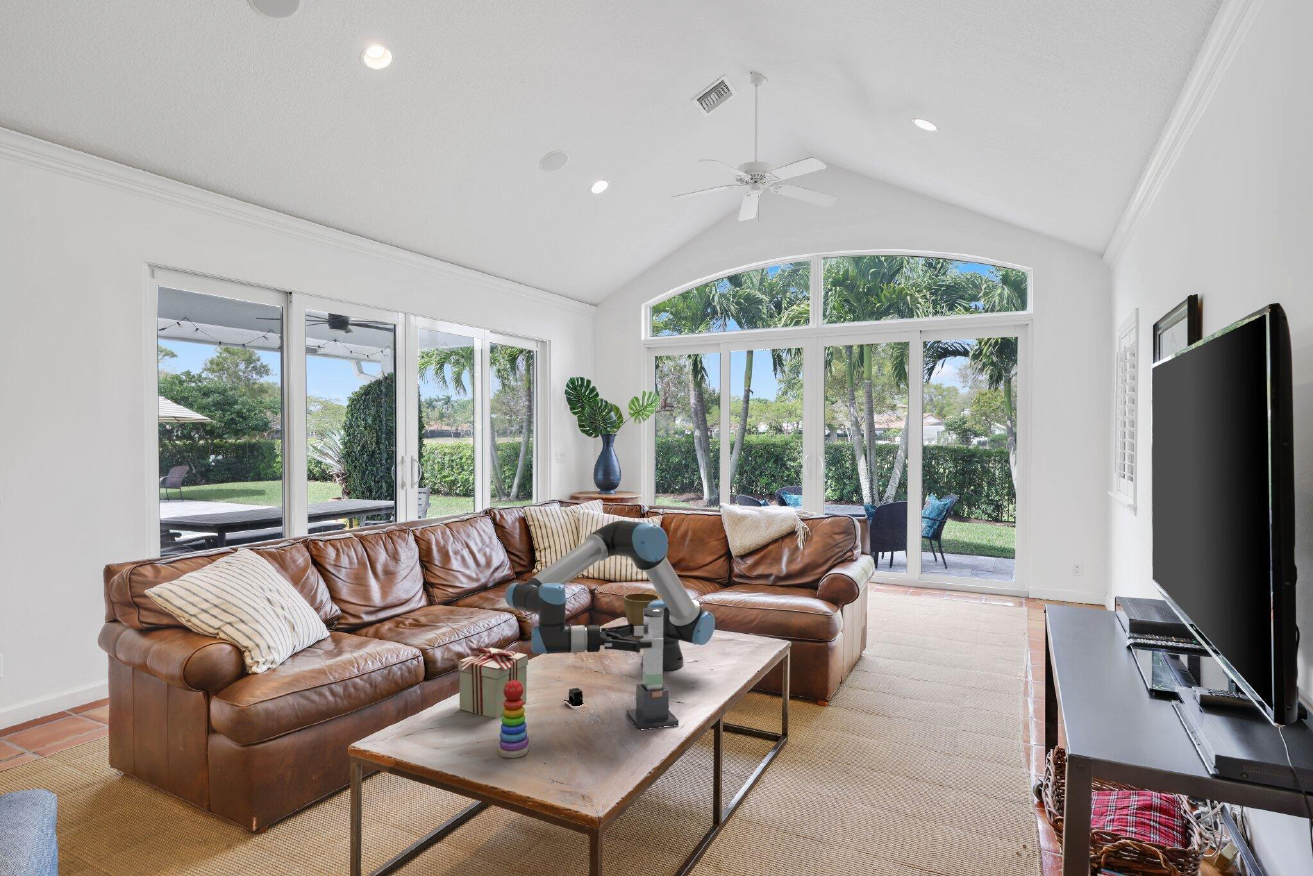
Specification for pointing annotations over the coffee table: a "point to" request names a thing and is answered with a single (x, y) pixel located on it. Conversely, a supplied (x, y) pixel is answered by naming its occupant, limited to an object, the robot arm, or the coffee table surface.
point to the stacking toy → (513, 723)
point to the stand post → (653, 656)
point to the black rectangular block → (575, 697)
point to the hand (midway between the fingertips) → (659, 636)
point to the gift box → (490, 679)
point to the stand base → (651, 709)
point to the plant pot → (637, 607)
